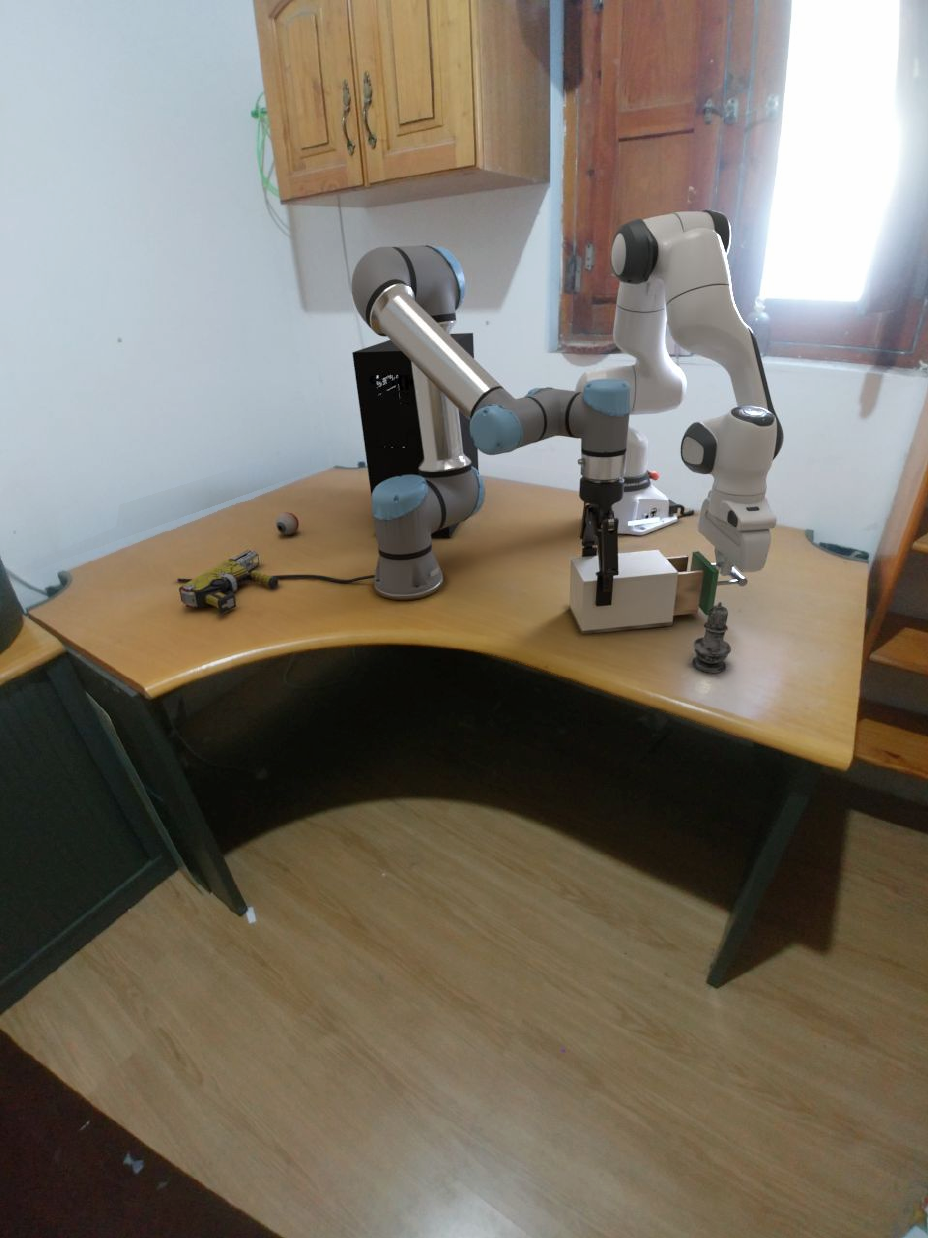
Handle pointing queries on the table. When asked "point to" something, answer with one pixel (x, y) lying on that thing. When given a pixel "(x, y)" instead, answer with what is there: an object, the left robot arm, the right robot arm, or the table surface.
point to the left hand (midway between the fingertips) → (595, 591)
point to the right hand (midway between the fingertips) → (722, 572)
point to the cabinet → (624, 593)
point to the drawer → (698, 583)
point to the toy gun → (223, 583)
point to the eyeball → (287, 523)
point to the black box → (397, 414)
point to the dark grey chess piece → (713, 642)
